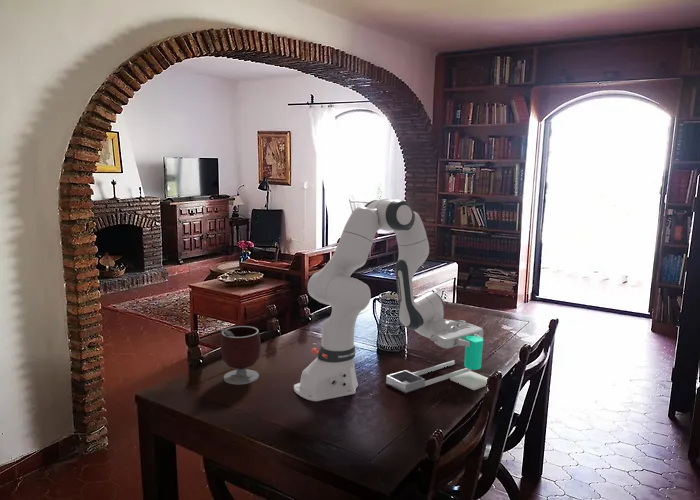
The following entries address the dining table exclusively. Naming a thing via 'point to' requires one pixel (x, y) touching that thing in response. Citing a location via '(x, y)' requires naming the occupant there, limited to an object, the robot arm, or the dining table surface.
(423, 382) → the shallow square tray
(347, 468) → the dining table surface
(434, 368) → the guide channel
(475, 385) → the ceramic tile
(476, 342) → the candle
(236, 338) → the mate gourd
